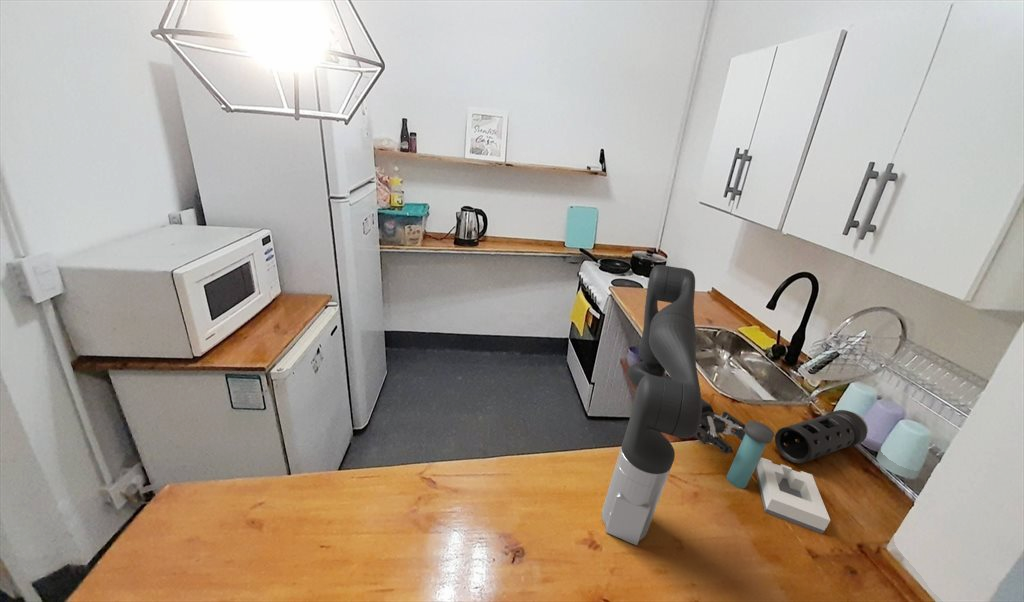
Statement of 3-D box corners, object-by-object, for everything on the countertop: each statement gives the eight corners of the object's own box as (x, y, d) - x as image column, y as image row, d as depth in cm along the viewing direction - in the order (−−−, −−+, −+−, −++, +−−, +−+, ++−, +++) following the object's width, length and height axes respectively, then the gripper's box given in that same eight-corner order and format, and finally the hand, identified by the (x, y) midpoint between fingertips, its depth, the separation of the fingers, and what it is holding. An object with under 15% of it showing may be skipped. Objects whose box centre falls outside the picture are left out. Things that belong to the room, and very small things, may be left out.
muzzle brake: (766, 449, 109) (781, 418, 105) (825, 430, 121) (840, 401, 117) (802, 475, 101) (819, 443, 97) (860, 452, 113) (878, 422, 109)
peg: (751, 494, 93) (776, 441, 87) (724, 484, 94) (748, 431, 88) (747, 477, 98) (771, 426, 92) (722, 468, 99) (745, 417, 93)
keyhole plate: (822, 534, 85) (830, 520, 83) (764, 512, 88) (771, 498, 87) (805, 487, 97) (812, 474, 96) (755, 469, 100) (760, 457, 99)
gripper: (673, 398, 103) (727, 441, 90) (711, 390, 109) (766, 429, 96) (665, 421, 106) (716, 466, 93) (702, 412, 112) (755, 453, 99)
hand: (741, 447), depth 94 cm, fingers open, 8 cm apart
